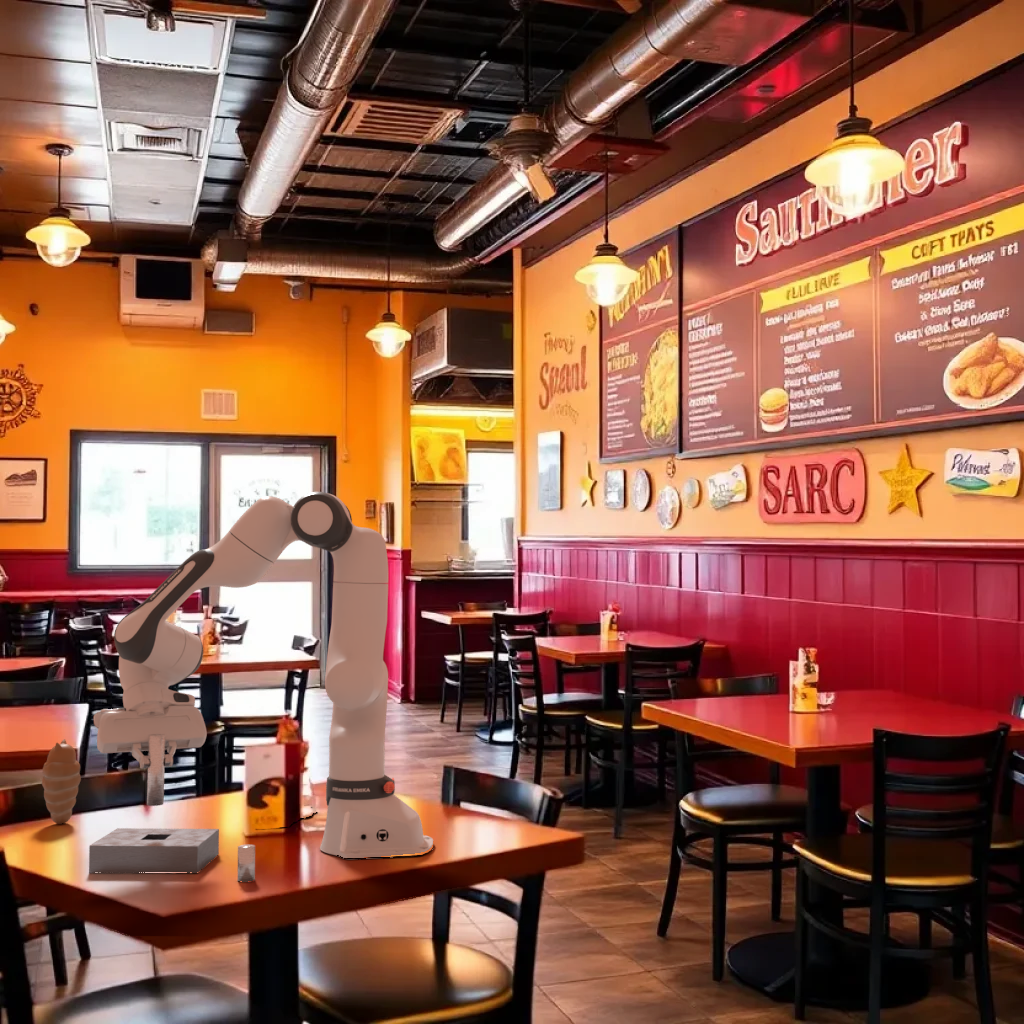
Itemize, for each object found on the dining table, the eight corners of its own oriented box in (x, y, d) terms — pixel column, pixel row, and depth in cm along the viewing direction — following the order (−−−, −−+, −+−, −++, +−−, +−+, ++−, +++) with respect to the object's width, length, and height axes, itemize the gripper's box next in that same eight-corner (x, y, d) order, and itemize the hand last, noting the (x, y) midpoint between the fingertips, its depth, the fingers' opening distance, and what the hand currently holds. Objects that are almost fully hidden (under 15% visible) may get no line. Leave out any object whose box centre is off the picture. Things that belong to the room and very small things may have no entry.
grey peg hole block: (218, 854, 226) (218, 828, 226) (197, 873, 212) (197, 846, 212) (116, 854, 226) (117, 828, 227) (88, 873, 212) (89, 845, 213)
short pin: (256, 878, 209) (256, 844, 209) (252, 882, 206) (252, 848, 206) (240, 878, 209) (240, 844, 209) (235, 882, 206) (236, 848, 206)
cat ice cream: (49, 819, 257) (50, 738, 258) (85, 819, 258) (86, 737, 258) (34, 828, 248) (36, 744, 249) (72, 828, 249) (73, 743, 250)
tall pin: (165, 802, 221) (167, 734, 222) (160, 805, 218) (162, 736, 219) (150, 802, 221) (151, 733, 222) (144, 805, 218) (146, 736, 219)
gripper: (94, 699, 222) (101, 759, 213) (202, 695, 232) (213, 751, 222) (90, 720, 225) (97, 779, 216) (196, 715, 235) (207, 771, 226)
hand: (156, 765), depth 220 cm, fingers closed on tall pin, 3 cm apart
